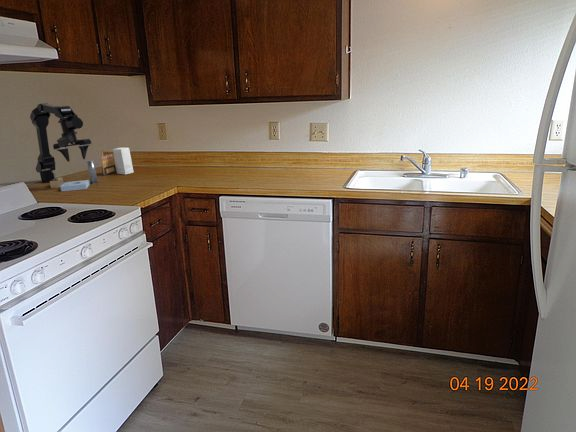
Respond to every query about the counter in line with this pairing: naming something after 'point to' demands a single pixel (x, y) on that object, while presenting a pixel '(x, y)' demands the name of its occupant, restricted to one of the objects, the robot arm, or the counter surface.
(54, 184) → the square bit
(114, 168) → the brown flat upright board
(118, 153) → the skincare box
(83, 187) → the holder
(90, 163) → the round bit
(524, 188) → the counter surface
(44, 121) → the robot arm
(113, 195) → the counter surface
